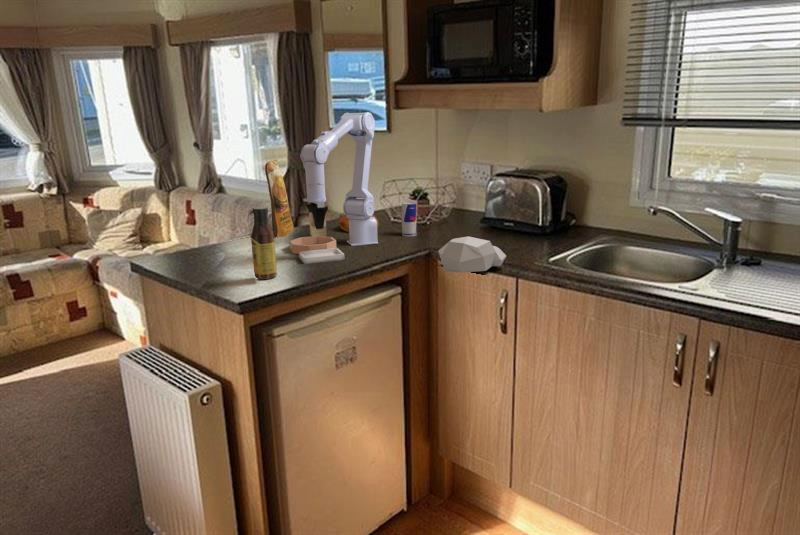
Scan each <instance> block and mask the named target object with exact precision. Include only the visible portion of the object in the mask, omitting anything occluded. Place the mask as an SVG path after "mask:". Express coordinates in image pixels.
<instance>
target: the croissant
mask: <svg viewBox="0 0 800 535" xmlns="http://www.w3.org/2000/svg"><path fill="white" fill-rule="evenodd" d="M371 217H375V219H376V222H377V230H378V229H379V226H380V223H379V220H378V218H377V216H375V215H374V214H373V215H372V216H371ZM337 224H339V228H340V229H341V230H342V231H343V232H346V233H349V218H347V216H346V215H345V214H344V215H343V216H342V217H341V218H340V220H338V223H337Z"/></svg>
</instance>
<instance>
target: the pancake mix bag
mask: <svg viewBox="0 0 800 535" xmlns="http://www.w3.org/2000/svg"><path fill="white" fill-rule="evenodd" d="M264 172H265V174H264V175H265V176H266V182H267V187H268V194H269V198H270V207H271V208H270V210H271V211H270V212H271V228H272V230H273V233H274V238H276V237H277V239H279V238H282V237H283V238H284V237H286V236H288V235H289V234H291V233H292V232H294V224H293V222H294V221H293V219H292V215H291V211H290V204H289V199H288V194H287V191H286V185H285V180H284V177H283V175H282V172H281V168H280V166H279V161H278V159H273V160H270V161H267V162H266V163H265V166H264ZM278 237H279V238H278Z"/></svg>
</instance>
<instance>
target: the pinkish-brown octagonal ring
mask: <svg viewBox="0 0 800 535" xmlns="http://www.w3.org/2000/svg"><path fill="white" fill-rule="evenodd" d="M332 248H338V247H337V240H336V239H335V238H334V237H333V236H317V237H312V236H311V235H310V236H302V237H298V238H293V239H291V240H289V250H290V252H292V254H295V255H299V252H300V251H311V250H322V249H332Z"/></svg>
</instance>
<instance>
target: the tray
mask: <svg viewBox="0 0 800 535" xmlns="http://www.w3.org/2000/svg"><path fill="white" fill-rule="evenodd" d="M345 256H346V255H345V253H344V252H342V250H340V248H338V247H337V248H332V249H322V250H311V251H300V252H299V254H298V258H299V259H300V260H301V262H302V263H303V264H304V265H307V264H309V265H310V264H317V263H318V264H319V263H327V262H329V263H330V262H338V261H345V260H346V259H345V258H346V257H345Z"/></svg>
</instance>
